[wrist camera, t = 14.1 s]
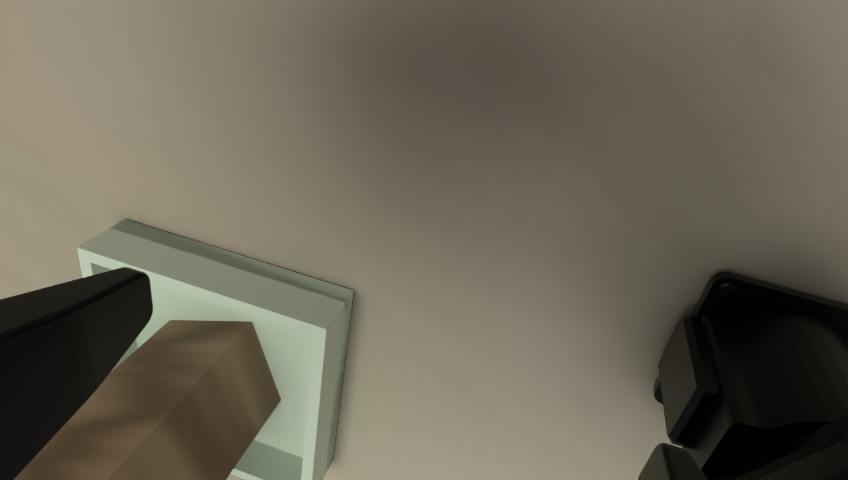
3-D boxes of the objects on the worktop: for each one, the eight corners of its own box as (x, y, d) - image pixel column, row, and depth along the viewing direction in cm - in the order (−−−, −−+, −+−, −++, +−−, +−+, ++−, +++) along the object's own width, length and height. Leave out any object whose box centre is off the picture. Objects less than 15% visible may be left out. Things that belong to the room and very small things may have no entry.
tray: (353, 290, 26) (326, 329, 23) (333, 459, 32) (309, 504, 29) (125, 218, 27) (76, 247, 25) (148, 391, 34) (111, 428, 31)
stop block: (252, 321, 27) (11, 585, 16) (281, 399, 29) (86, 679, 18) (169, 320, 29) (-100, 558, 18) (203, 394, 31) (-19, 648, 20)
